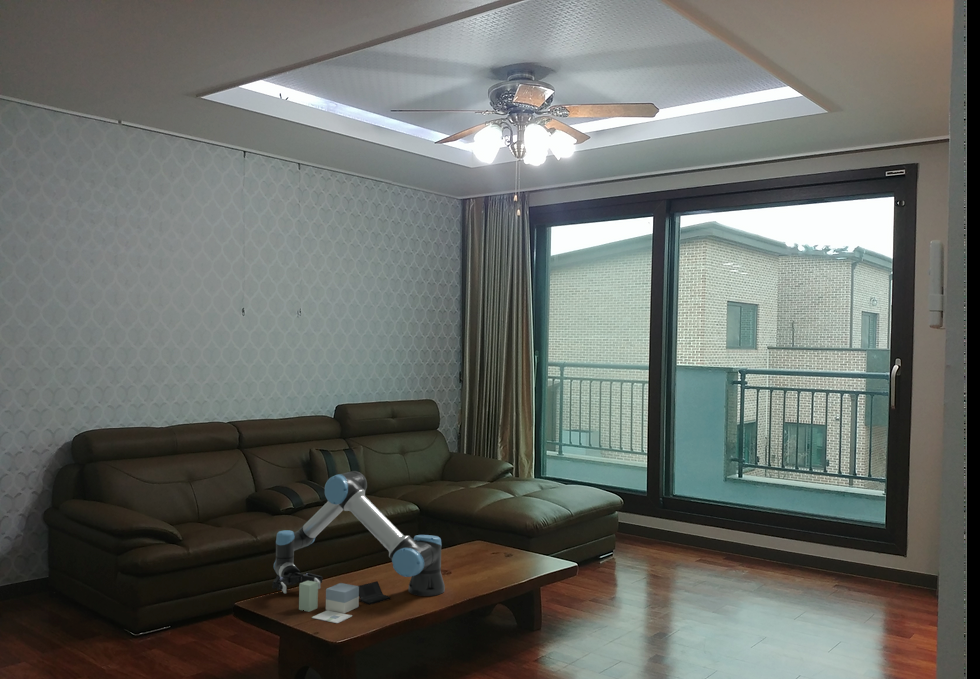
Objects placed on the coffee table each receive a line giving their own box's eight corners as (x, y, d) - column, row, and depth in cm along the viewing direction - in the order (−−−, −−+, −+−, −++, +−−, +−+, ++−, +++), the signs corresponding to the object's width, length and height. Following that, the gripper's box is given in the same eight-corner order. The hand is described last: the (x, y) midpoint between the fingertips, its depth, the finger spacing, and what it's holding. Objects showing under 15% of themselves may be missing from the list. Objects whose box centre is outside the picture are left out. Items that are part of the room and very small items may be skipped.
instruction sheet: (352, 616, 294) (352, 615, 294) (337, 623, 286) (337, 622, 286) (327, 611, 300) (327, 609, 300) (311, 617, 292) (311, 616, 292)
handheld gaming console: (373, 602, 307) (364, 578, 311) (361, 610, 309) (353, 587, 314) (393, 599, 316) (384, 576, 320) (381, 607, 318) (373, 584, 323)
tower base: (358, 606, 305) (358, 586, 305) (344, 613, 297) (344, 592, 297) (340, 603, 309) (340, 582, 309) (325, 609, 301) (326, 588, 301)
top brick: (317, 608, 303) (317, 582, 303) (309, 611, 298) (309, 585, 299) (307, 606, 305) (307, 580, 305) (298, 609, 301) (299, 583, 301)
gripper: (318, 579, 334) (333, 593, 315) (259, 586, 322) (270, 601, 303) (319, 561, 334) (333, 574, 315) (259, 568, 322) (271, 582, 303)
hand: (302, 587), depth 309 cm, fingers open, 13 cm apart
